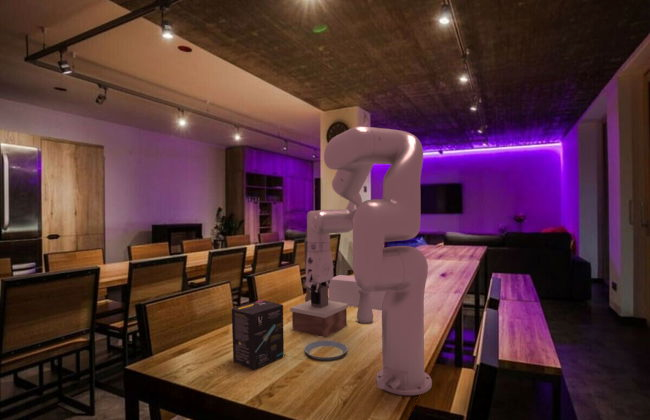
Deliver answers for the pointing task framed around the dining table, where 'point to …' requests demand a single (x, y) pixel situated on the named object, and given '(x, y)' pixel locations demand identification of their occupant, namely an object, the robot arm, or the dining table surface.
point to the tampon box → (257, 333)
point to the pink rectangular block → (352, 292)
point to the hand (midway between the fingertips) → (319, 301)
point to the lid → (320, 305)
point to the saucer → (325, 343)
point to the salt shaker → (364, 308)
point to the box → (319, 323)
